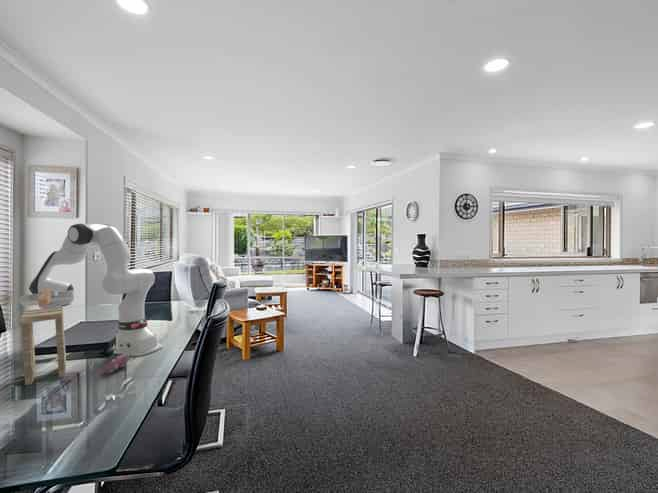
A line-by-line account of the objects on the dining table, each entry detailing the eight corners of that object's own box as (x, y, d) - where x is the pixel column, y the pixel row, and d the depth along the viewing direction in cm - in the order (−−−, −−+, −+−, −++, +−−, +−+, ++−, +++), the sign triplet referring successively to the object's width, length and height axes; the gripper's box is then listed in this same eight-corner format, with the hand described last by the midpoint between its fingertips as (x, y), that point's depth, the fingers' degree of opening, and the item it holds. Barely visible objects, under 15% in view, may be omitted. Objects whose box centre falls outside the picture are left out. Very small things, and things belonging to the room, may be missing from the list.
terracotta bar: (43, 295, 160) (43, 289, 160) (51, 294, 162) (51, 288, 161) (38, 306, 142) (38, 300, 142) (47, 305, 144) (47, 298, 144)
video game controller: (109, 378, 135) (115, 363, 135) (100, 372, 136) (106, 357, 135) (128, 367, 145) (133, 354, 144) (119, 362, 146) (125, 349, 145)
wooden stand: (29, 372, 139) (25, 310, 137) (66, 364, 146) (62, 306, 145) (24, 386, 126) (20, 318, 125) (65, 377, 133) (61, 313, 132)
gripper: (21, 298, 163) (16, 289, 152) (74, 292, 175) (72, 284, 165) (22, 310, 161) (16, 302, 151) (75, 304, 173) (73, 296, 163)
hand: (46, 293), depth 158 cm, fingers closed on terracotta bar, 3 cm apart
